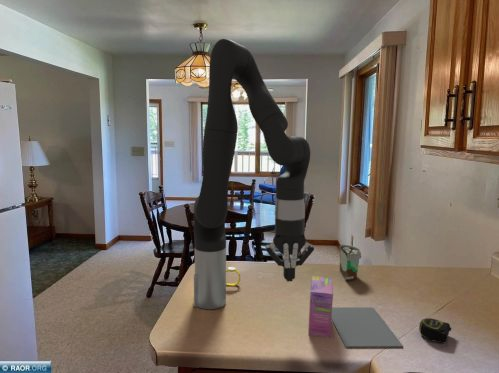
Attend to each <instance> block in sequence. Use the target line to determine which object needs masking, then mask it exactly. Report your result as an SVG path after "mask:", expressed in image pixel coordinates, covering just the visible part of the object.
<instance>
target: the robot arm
mask: <svg viewBox="0 0 499 373" xmlns="http://www.w3.org/2000/svg"><path fill="white" fill-rule="evenodd" d="M209 56H210V57H209V71H208V72H209V74H208V75H209V77H208V79H209V80H208V81H209V82H208V99H207V106H206V108H207V109H206V117H205V118H206V119H205V124H204V130H203V140H202V155H201V156H202V180H201V186H200V192H199V195H198V196H197V198H196V199H195V201H194V204H193V237H194V238H193V239H194V274H193V307H194V308H199V309H203V310H216V309H220V308H222V307H224V306H225V305H226V303H227V285H226V283H227V272H226V270H227V235H226V223H225V222H226V218H227V216H228V212H229V211H228V210H229V209H228V204H229V201H228V200H229V199H228V198H229V181H230V177H231V176H230V175H231V171H232V167H233V162H234V158H235V157H234V156H235V151H236V145H237V139H238V128H239V127H238V126H239V124H238V119H237V115H236V110H235V108H234V105H233V99H232V82H233V80H235V81H236V82H237V83H238V84H239V85H240V86H241V87H242V89H243V90H244V92H245V94H246V96H247V100H248V108H249V110H250V113H251V116H252V118H253V120H254V122H255V123H256V125H257V126H258V128H259V129H260V131H261V132H262V134H263V138H264V142H265V146H266V149H267V152H268V155H269V157H270V158H271V160H272V161H273V162H274V163H275V164H277V165H279V166H281V167H282V166H285V171H284V172H283V173H282V174H280V175H279V176H277V178H276V181H275V182H276V185H275V204H274V205H275V206H274V237H273V240H272V242H271V243H270V244H266V245H265V251H266V252H267V254H268V255H269V256H270V257H271V259H272V260H274V263H276V265H277V266H279V267H283V276H282V277H283V278H284V280H286V282H287V283H288V282H293V280H295V278H296V268H297V267H298V266H302V265H303V264H304V263H305V262H306V261H307V260H308V258H309V256H310V255H311V254H312V253H313V252H314V250H315V248H314V246H313V244H312V243H309V242H308V241H307V239H306V236H305V230H306V229H305V226H306V225H305V223H306V222H305V218H306V206H305V180H306V176H307V173H308V169H309V165H310V161H311V147H310V144H309V142H308V140H307V139H305V138H304V137H303V136H288V135H287V134H286V130H287V129H288V127H289V122H288V120H287V118H286V116H285V115H284V112H283V111H282V110H281V108H280V106H279V105H278V104H277V102H276V101H275V99H274V98H273V96H272V94H271V92H270V90H269V89H268V87H267V85H266V84H265V81H264V79H263V77H262V75H261V72H260V70H259V69H258V68H259V67H258V65H257V63H256V61H255V60H256V59H255V58H254V55H253V54H252V52H251V51H250V50H249V49H248V48H247V47H245V46H244V45H242V44H239V43H238V42H235V41H233V40H231V39H228V38H221V39H219V40H217V41H216V43H215V44H214V45H213V47H212V50H211V52H210V55H209ZM276 248H277V250H278V251H279V252H280V254H282V259H281V258H280V257H279V255H278V254H277V253H276ZM302 250H303V251H302ZM300 252H301V253H300ZM299 253H300V254H299ZM298 254H299V255H298Z"/></svg>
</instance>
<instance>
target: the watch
mask: <svg viewBox="0 0 499 373" xmlns="http://www.w3.org/2000/svg"><path fill="white" fill-rule="evenodd" d="M227 272H231V273H232V272H233V273H237V276H238V280H237V281H236V282H235V283H228V282H226V286H230V287H236V286H238V285H239V283H240V281H241V272H240V271H239V270H237V268H236V267H234V266H229V267H227V268H226V273H227Z"/></svg>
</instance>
